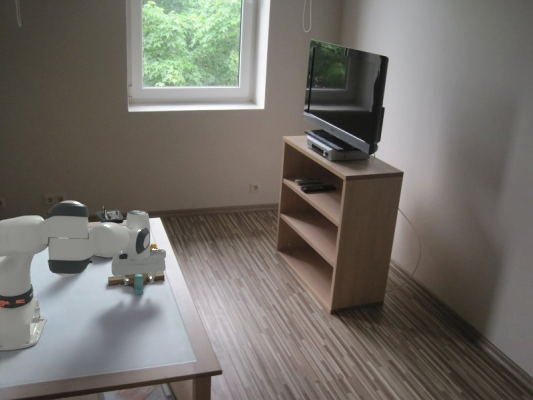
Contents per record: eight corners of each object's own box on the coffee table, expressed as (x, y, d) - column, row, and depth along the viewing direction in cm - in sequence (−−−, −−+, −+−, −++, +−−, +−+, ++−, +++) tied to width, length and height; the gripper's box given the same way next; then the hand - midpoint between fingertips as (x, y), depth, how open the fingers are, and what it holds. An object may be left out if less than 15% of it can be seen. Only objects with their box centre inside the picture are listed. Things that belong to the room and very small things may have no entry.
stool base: (165, 284, 232) (165, 270, 230) (109, 289, 225) (108, 276, 223) (160, 266, 246) (159, 253, 244) (106, 271, 239) (106, 258, 237)
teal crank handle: (133, 286, 227) (133, 271, 225) (141, 286, 228) (141, 270, 226) (135, 294, 222) (134, 278, 220) (143, 293, 223) (143, 277, 221)
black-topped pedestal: (77, 227, 279) (75, 201, 275) (131, 221, 290) (130, 196, 285) (86, 251, 256) (84, 223, 251) (144, 243, 267) (144, 217, 262)
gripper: (164, 244, 224) (164, 276, 229) (110, 249, 217) (111, 281, 222) (167, 251, 218) (167, 284, 223) (111, 256, 212) (112, 289, 217)
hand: (139, 282), depth 223 cm, fingers open, 8 cm apart
